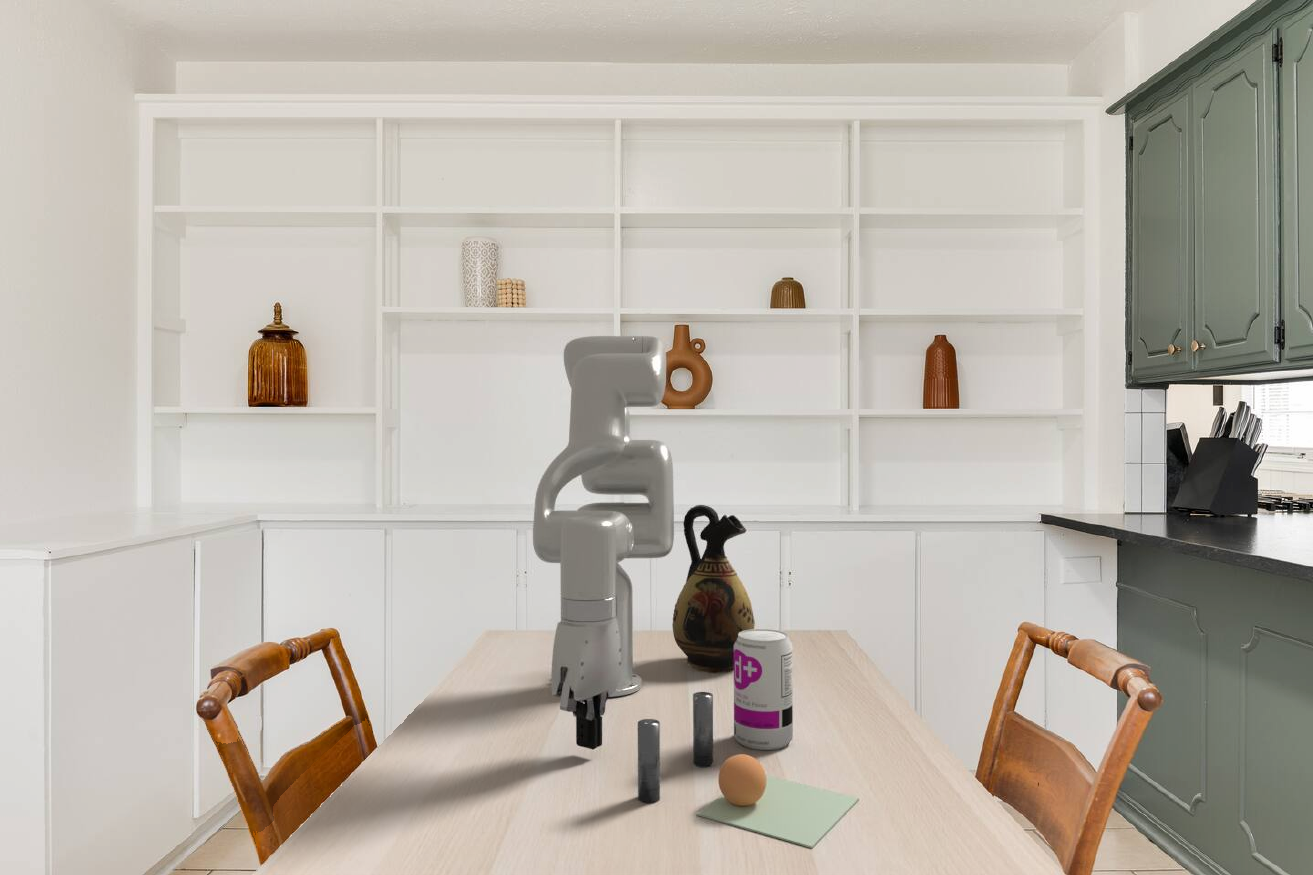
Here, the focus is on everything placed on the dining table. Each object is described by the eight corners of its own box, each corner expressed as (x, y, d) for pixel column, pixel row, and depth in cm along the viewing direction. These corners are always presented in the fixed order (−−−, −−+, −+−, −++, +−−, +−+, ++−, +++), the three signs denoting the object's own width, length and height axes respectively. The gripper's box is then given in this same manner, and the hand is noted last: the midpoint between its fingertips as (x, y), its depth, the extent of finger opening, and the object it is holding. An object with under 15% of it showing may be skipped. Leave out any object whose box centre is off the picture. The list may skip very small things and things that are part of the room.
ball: (748, 769, 94) (748, 819, 94) (775, 754, 98) (776, 802, 98) (708, 757, 97) (709, 805, 97) (736, 743, 101) (736, 789, 101)
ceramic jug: (766, 660, 160) (766, 504, 160) (735, 681, 146) (735, 510, 146) (687, 650, 168) (686, 501, 168) (650, 669, 154) (650, 507, 154)
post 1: (633, 799, 99) (633, 723, 99) (646, 791, 101) (645, 717, 101) (651, 804, 97) (651, 727, 97) (664, 796, 99) (663, 721, 99)
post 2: (689, 764, 109) (689, 695, 109) (699, 757, 111) (699, 690, 111) (706, 768, 108) (706, 699, 108) (716, 762, 110) (716, 693, 110)
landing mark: (696, 814, 95) (696, 813, 95) (753, 773, 106) (753, 771, 106) (812, 848, 87) (812, 846, 87) (859, 799, 99) (859, 797, 99)
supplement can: (755, 755, 112) (755, 644, 112) (723, 736, 119) (722, 631, 119) (804, 745, 116) (804, 637, 116) (770, 727, 123) (769, 625, 123)
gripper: (600, 597, 120) (600, 724, 120) (530, 616, 108) (530, 757, 108) (643, 602, 116) (643, 734, 116) (575, 622, 104) (575, 770, 104)
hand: (589, 745), depth 112 cm, fingers closed
